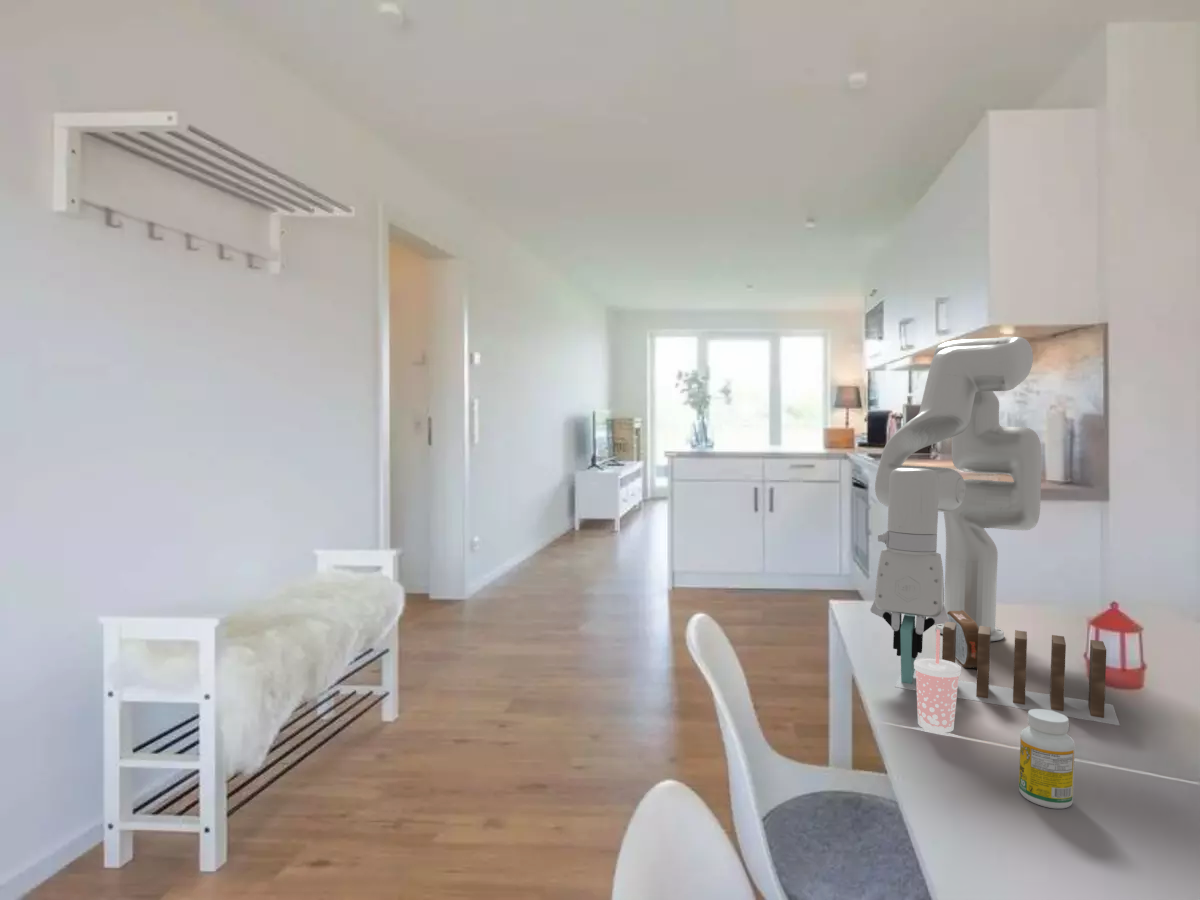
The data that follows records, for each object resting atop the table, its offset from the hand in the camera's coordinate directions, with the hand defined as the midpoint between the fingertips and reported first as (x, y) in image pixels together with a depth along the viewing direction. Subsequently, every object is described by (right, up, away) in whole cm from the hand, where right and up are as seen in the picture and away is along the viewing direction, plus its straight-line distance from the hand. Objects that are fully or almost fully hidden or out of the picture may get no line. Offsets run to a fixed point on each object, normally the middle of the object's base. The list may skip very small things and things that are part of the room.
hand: (907, 654), depth 123 cm
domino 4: (+15, -5, -7) cm, 17 cm away
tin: (+15, -5, +13) cm, 21 cm away
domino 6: (+23, -5, -11) cm, 27 cm away
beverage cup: (-3, -6, -17) cm, 19 cm away
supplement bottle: (+1, -7, -37) cm, 38 cm away
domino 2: (+6, -5, -2) cm, 8 cm away
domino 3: (+10, -5, -4) cm, 12 cm away
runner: (+12, -5, -5) cm, 15 cm away
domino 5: (+19, -5, -9) cm, 22 cm away
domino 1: (+1, -4, +2) cm, 4 cm away
